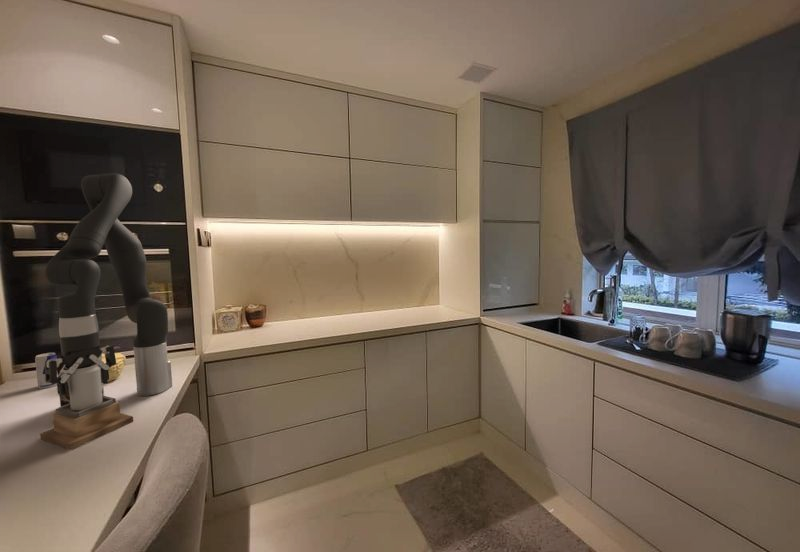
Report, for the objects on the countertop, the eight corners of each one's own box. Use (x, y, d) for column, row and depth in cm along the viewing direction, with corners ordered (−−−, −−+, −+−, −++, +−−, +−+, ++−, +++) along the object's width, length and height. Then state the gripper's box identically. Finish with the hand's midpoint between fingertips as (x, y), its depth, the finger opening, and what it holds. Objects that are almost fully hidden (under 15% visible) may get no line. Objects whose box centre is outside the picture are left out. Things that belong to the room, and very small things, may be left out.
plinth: (103, 413, 98) (101, 389, 98) (133, 421, 94) (131, 396, 93) (40, 438, 85) (37, 411, 84) (71, 449, 80) (68, 420, 80)
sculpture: (106, 386, 117) (103, 358, 116) (74, 386, 118) (71, 358, 117) (132, 374, 129) (130, 348, 128) (103, 374, 129) (101, 348, 128)
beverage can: (82, 414, 85) (79, 370, 84) (64, 411, 86) (61, 368, 85) (108, 403, 91) (106, 362, 90) (91, 400, 93) (89, 360, 92)
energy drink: (61, 384, 119) (58, 353, 118) (40, 390, 115) (36, 358, 114) (57, 381, 122) (54, 351, 121) (36, 386, 118) (33, 355, 117)
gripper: (102, 324, 95) (107, 377, 96) (35, 337, 81) (41, 398, 83) (118, 326, 92) (123, 380, 94) (51, 340, 79) (58, 402, 80)
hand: (85, 388), depth 88 cm, fingers open, 8 cm apart
